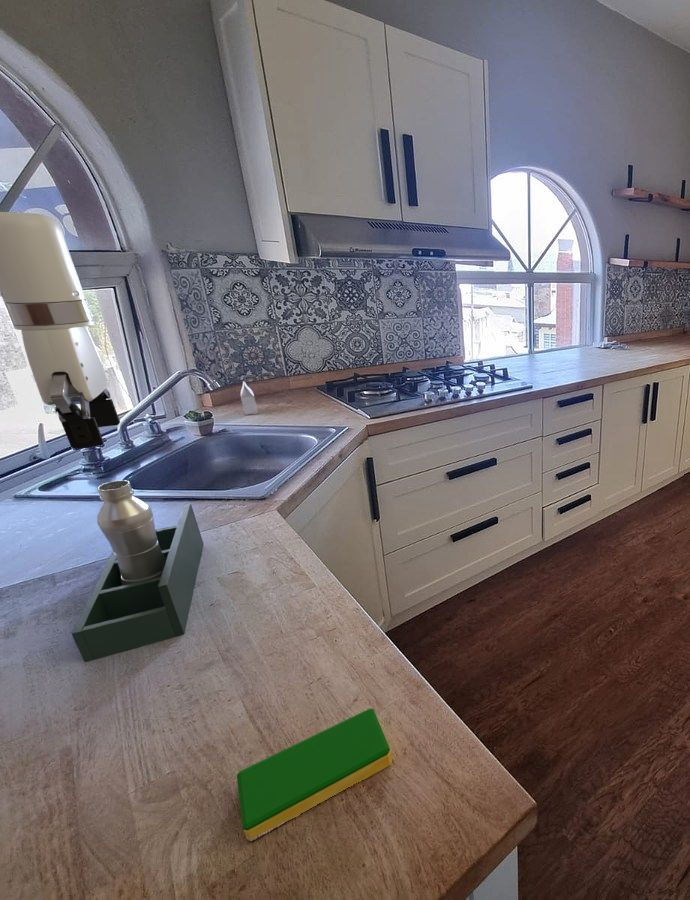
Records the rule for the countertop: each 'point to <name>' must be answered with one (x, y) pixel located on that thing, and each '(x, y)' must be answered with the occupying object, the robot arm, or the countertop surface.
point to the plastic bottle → (130, 532)
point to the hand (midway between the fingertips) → (98, 435)
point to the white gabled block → (248, 400)
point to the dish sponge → (311, 772)
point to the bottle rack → (143, 597)
